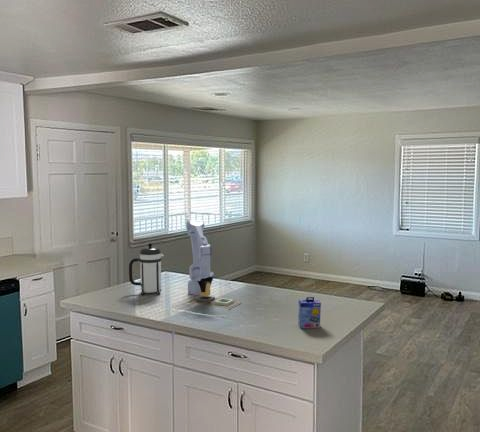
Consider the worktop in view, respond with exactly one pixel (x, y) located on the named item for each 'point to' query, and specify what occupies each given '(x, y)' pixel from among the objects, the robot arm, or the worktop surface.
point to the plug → (206, 290)
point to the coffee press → (148, 270)
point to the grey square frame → (203, 299)
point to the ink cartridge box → (309, 313)
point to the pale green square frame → (224, 302)
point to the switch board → (216, 304)
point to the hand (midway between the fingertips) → (205, 291)
